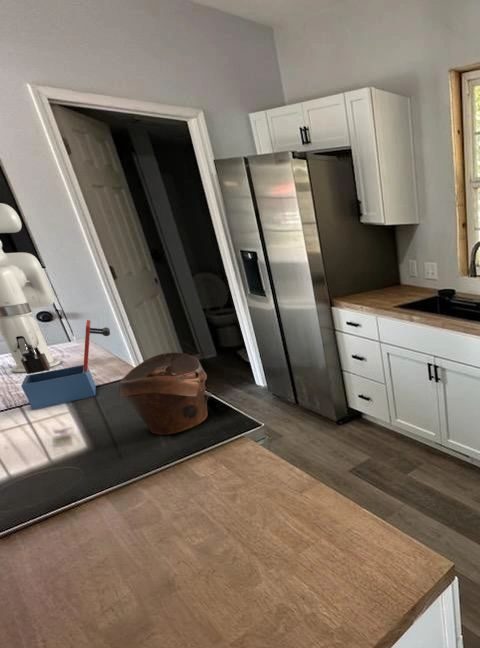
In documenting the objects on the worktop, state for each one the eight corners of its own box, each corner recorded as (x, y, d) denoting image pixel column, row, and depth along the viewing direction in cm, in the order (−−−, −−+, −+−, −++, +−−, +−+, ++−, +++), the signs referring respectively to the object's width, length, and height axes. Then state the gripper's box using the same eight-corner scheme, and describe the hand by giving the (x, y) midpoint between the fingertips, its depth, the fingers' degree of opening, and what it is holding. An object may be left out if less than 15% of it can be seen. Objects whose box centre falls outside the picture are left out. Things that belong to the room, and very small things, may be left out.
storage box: (32, 409, 122) (21, 385, 119) (37, 398, 130) (26, 375, 127) (95, 395, 131) (85, 373, 128) (95, 385, 139) (86, 364, 136)
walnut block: (29, 370, 125) (22, 356, 123) (50, 366, 128) (44, 353, 126) (27, 374, 122) (20, 360, 120) (49, 370, 125) (42, 356, 123)
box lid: (85, 326, 125) (110, 328, 129) (87, 320, 133) (110, 322, 137) (83, 371, 127) (107, 372, 131) (84, 362, 135) (107, 363, 139)
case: (157, 449, 99) (131, 381, 93) (123, 430, 109) (97, 367, 102) (234, 418, 114) (216, 357, 107) (198, 403, 123) (179, 347, 117)
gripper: (-4, 309, 122) (24, 366, 128) (-15, 318, 110) (16, 380, 117) (33, 304, 127) (58, 360, 133) (26, 313, 115) (54, 373, 121)
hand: (38, 369), depth 125 cm, fingers closed on walnut block, 4 cm apart
